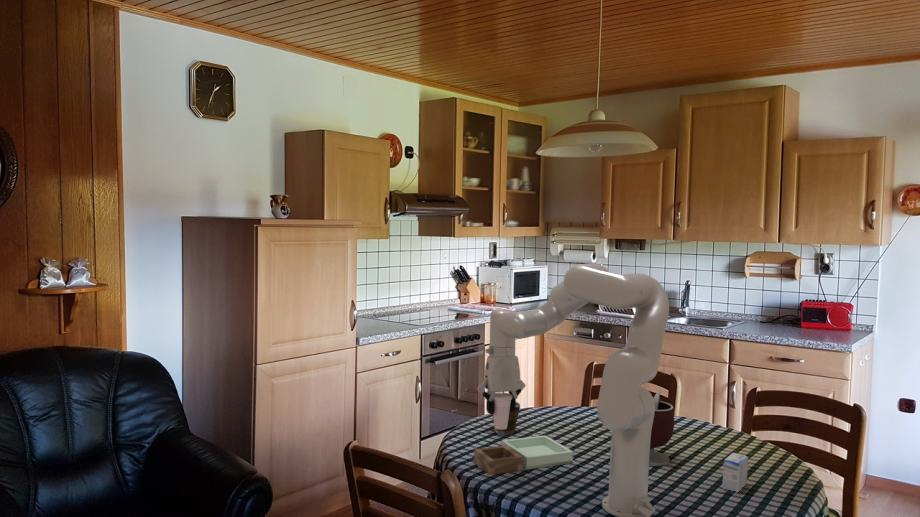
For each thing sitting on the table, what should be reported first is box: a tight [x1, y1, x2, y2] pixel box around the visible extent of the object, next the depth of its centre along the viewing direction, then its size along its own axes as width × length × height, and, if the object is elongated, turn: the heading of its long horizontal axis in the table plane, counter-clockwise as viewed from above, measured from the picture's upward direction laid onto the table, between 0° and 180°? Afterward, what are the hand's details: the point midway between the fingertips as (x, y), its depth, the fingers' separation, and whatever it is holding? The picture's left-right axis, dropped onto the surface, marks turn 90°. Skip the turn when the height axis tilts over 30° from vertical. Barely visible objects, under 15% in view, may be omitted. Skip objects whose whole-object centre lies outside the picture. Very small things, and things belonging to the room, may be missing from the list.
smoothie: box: [492, 392, 512, 430], centre depth 190 cm, size 6×6×14 cm
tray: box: [501, 435, 574, 470], centre depth 200 cm, size 16×16×4 cm
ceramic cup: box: [492, 401, 521, 436], centre depth 222 cm, size 13×10×10 cm
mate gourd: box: [649, 389, 675, 467], centre depth 202 cm, size 16×14×20 cm
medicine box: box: [721, 452, 749, 493], centre depth 181 cm, size 8×4×9 cm, turn 141°
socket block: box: [473, 445, 523, 476], centre depth 191 cm, size 11×11×4 cm
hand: (501, 411), depth 190 cm, fingers closed on smoothie, 6 cm apart
